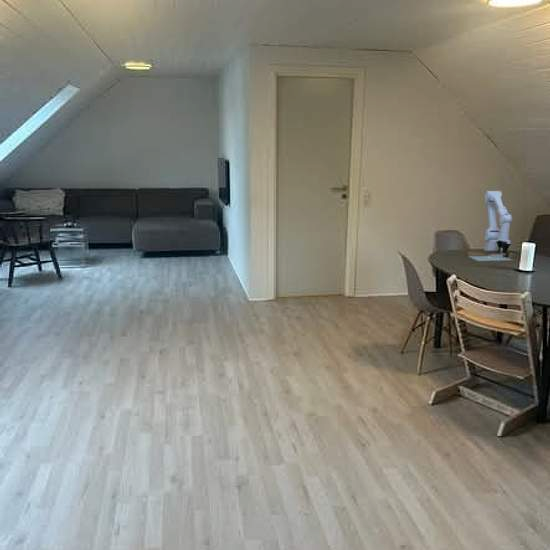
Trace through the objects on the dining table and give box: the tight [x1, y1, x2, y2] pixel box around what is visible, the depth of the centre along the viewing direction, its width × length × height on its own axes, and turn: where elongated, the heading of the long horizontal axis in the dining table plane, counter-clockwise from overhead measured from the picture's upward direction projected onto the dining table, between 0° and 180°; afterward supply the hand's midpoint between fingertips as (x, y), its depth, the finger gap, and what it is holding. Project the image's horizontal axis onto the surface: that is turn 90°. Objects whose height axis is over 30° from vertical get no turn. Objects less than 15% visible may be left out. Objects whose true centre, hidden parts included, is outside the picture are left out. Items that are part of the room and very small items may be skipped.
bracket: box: [488, 247, 506, 258], centre depth 380 cm, size 10×5×6 cm, turn 96°
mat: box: [467, 256, 513, 262], centre depth 379 cm, size 16×26×1 cm, turn 96°
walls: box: [467, 249, 517, 261], centre depth 378 cm, size 16×26×4 cm, turn 96°
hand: (502, 252), depth 380 cm, fingers closed on bracket, 5 cm apart
